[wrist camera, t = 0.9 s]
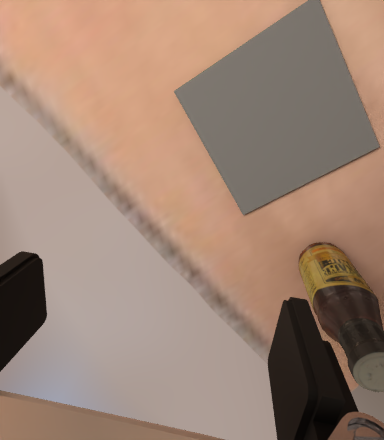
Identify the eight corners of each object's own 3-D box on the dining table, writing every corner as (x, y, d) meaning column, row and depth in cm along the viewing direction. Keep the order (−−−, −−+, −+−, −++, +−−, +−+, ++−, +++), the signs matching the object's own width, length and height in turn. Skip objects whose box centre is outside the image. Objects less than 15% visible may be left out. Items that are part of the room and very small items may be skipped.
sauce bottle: (351, 248, 40) (453, 362, 22) (328, 285, 43) (403, 416, 24) (306, 232, 40) (369, 330, 22) (286, 269, 43) (328, 388, 24)
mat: (315, -3, 32) (317, -6, 31) (376, 146, 36) (379, 146, 35) (175, 91, 37) (173, 91, 36) (243, 213, 41) (243, 215, 40)
